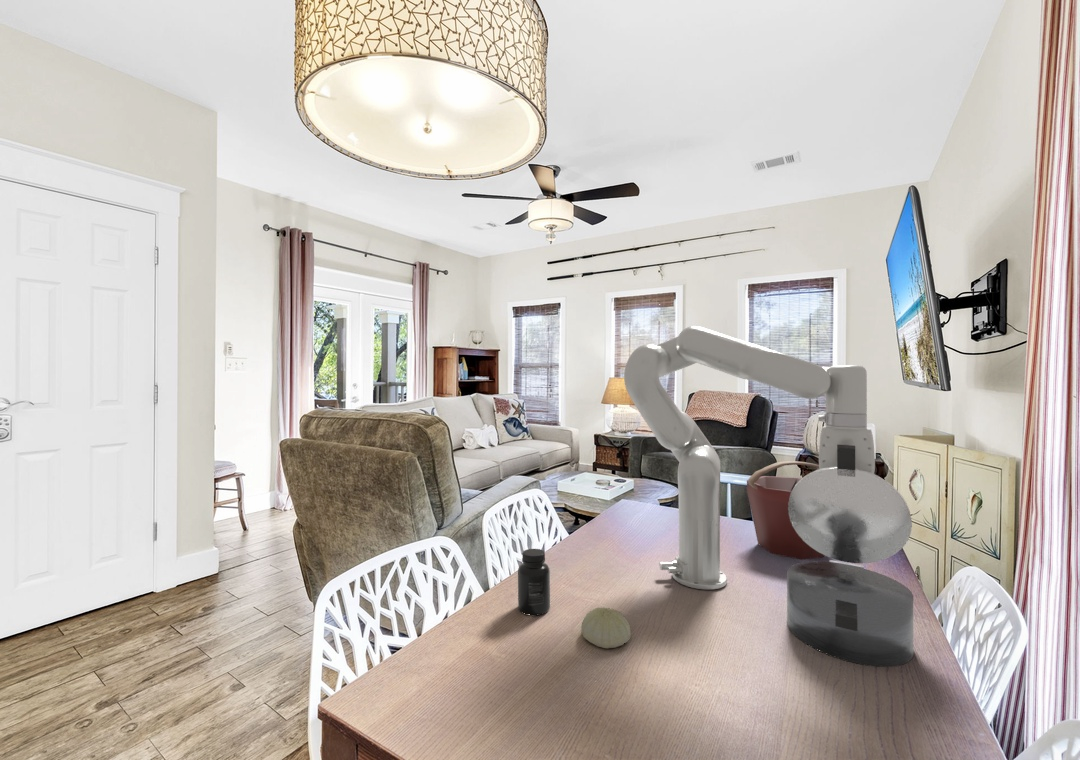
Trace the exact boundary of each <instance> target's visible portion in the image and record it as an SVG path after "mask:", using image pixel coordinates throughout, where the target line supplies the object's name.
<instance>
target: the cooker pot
mask: <svg viewBox="0 0 1080 760" xmlns="http://www.w3.org/2000/svg"><path fill="white" fill-rule="evenodd" d="M786 571H787V572H786V616H787V617H786V623H787V627H788V629H789V630H790V632H791V633H792V634H793V635H794V636H795V637H796V638H797V637H798V638H797V639H799V640H800V641H801V642H803V643H804V642H805V643H804V644H805V645H807V644H808V645H807V646H809V645H810V646H809V647H811V646H812V647H813V649H814V648H816V649H818V650H820V651H819V652H821V651H822V652H821V653H823V652H824V653H823V654H825V653H827V654H826V655H827V656H830V655H831V657H833V658H836V659H839V660H842V661H845V660H846V661H845V662H849V661H851V662H850V663H853V662H854V663H853V664H858V663H859V664H860V665H863V664H865V665H864V666H869V665H871V666H870V667H880V666H886V667H887V668H888V666H890V667H898V666H902V665H905V664H907V663H909V662H910V661H911V660H912V659H913V657H914V594H913V593H912V591H911V590H910V589H909V588H908V587H907V586H906V585H904V584H902V583H901V582H899V581H897V580H895V579H894V578H891V577H889V576H886V575H885V574H882V573H879V572H876V571H873V570H870V569H866V568H865V566H864V565H862V564H861V565H860V564H857V563H849V562H843V561H839V560H833V559H829V562H828V561H805V562H804V561H803V562H799V563H795V564H793V565H790V566H789V567H788V568H787V570H786ZM812 647H811V648H812ZM816 649H815V650H816ZM818 650H817V651H818Z"/></svg>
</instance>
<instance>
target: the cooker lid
mask: <svg viewBox="0 0 1080 760" xmlns="http://www.w3.org/2000/svg"><path fill="white" fill-rule="evenodd" d="M801 478H802V479H801V480H800V481H799V482H798V483H797V484H796V485H795V487H794V488H793V490H792V492H791V495H790V498H789V503H788V512H789V517H790V521H791V523H792V526H793V527H794V529H795V531H796V532H797V534H798V535H799V536H800V538H801V539H802V540H803V541H804V542H805V543H807V544H808V545H809V546H810V547H812V548H813V549H814V550H816V551H818V552H819V553H821V554H823V555H824V557H828V558H829V559H832V560H833V559H834V560H835V561H839V562H845V563H850V564H872V563H877V562H881V561H884V560H886V559H889V558H891V557H892V556H894V555H896V554H898V552H899V551H901V550H902V549H903V548H904V547H905V545H906V544H907V542H908V541H909V539H910V536H911V533H912V527H913V523H912V522H913V521H912V515H911V512H910V509H909V505H908V503H907V501H906V500H905V498H904V497H903V496H902V494H901V493H900V492H899V490H898V489H896V487H894V485H892V484H891V483H890V482H888V481H887V480H886V479H883V478H882V477H880V476H879V475H877V474H876V473H875V474H873V473H870V472H867V471H865V470H861V469H857V468H855V446H853V445H837V467H828V468H822V469H819V470H817V469H816V470H813V471H811V472H809V473H807V474H806V475H805V476H803V477H801Z"/></svg>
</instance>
